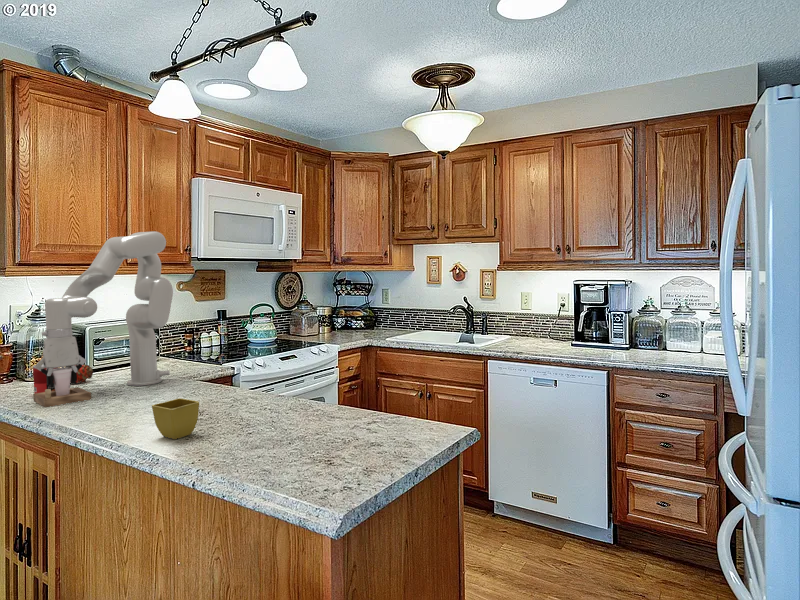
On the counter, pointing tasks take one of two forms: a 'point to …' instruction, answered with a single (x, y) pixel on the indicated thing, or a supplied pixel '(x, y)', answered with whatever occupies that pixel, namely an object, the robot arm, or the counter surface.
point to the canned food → (40, 381)
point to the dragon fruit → (84, 373)
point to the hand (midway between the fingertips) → (62, 384)
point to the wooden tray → (61, 397)
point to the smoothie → (62, 380)
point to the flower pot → (176, 417)
